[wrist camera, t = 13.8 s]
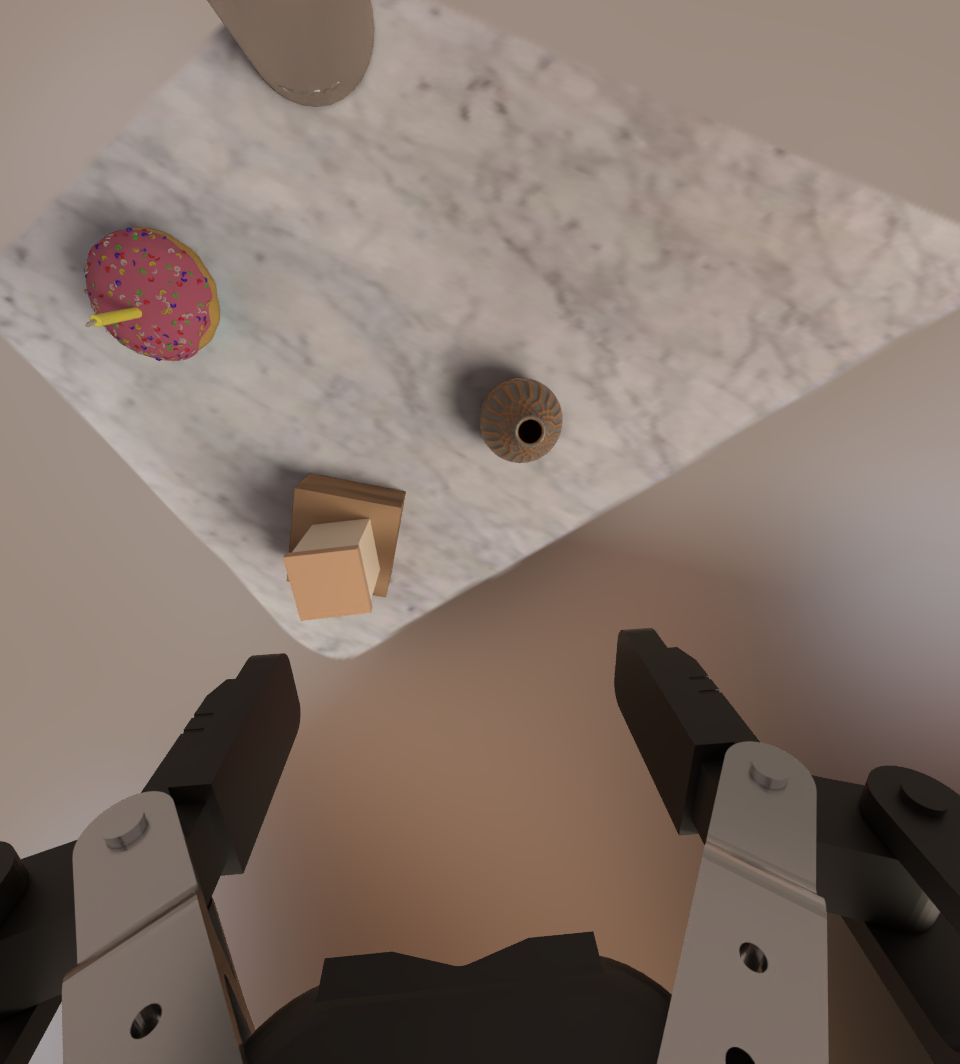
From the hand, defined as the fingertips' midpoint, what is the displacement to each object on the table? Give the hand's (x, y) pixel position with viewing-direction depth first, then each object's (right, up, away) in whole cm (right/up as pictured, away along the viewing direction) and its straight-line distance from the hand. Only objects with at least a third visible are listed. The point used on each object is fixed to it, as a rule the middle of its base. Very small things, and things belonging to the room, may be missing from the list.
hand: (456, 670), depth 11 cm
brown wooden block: (-12, +4, +35) cm, 37 cm away
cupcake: (-23, +22, +27) cm, 42 cm away
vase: (+4, +14, +32) cm, 35 cm away
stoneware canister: (-11, +2, +30) cm, 32 cm away
